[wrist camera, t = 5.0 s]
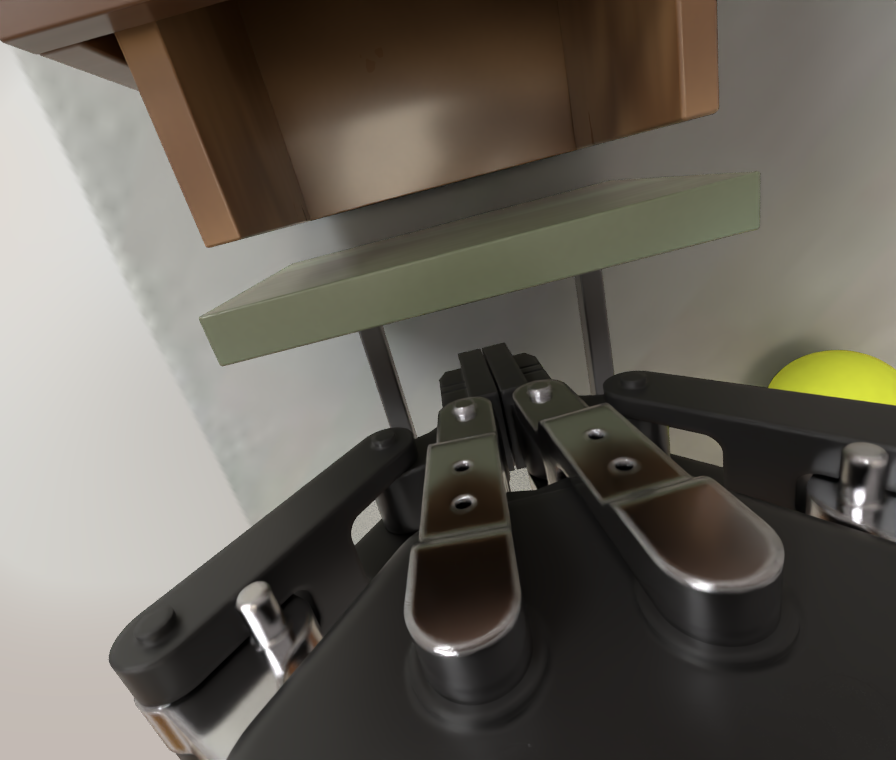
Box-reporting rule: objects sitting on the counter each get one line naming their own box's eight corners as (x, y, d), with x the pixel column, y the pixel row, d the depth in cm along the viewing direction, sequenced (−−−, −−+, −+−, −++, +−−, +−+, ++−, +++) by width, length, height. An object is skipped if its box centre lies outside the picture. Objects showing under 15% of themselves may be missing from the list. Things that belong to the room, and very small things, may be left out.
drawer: (628, 350, 20) (758, 448, 12) (348, 420, 21) (307, 557, 13) (555, -347, 13) (775, -1199, 5) (116, -214, 13) (-321, -802, 5)
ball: (864, 377, 22) (981, 426, 18) (778, 451, 24) (867, 514, 19) (804, 313, 21) (914, 348, 16) (717, 395, 22) (796, 449, 18)
